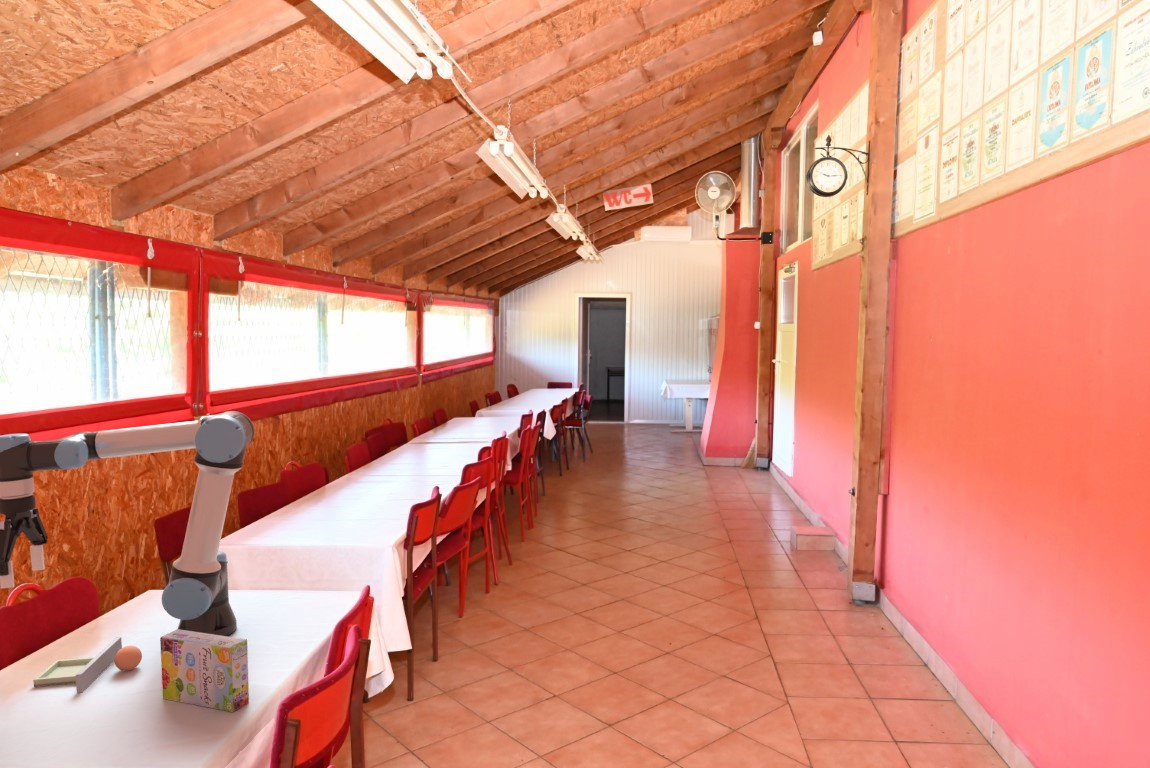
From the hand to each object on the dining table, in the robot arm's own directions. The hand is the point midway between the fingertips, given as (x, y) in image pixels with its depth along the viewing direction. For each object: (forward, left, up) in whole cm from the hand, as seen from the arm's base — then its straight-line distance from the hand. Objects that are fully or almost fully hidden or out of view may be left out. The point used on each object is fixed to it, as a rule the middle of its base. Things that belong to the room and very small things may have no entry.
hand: (23, 578), depth 186 cm
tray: (-12, +5, -24) cm, 27 cm away
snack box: (-50, +26, -24) cm, 61 cm away
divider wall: (-19, +5, -24) cm, 31 cm away
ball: (-25, +5, -21) cm, 33 cm away
